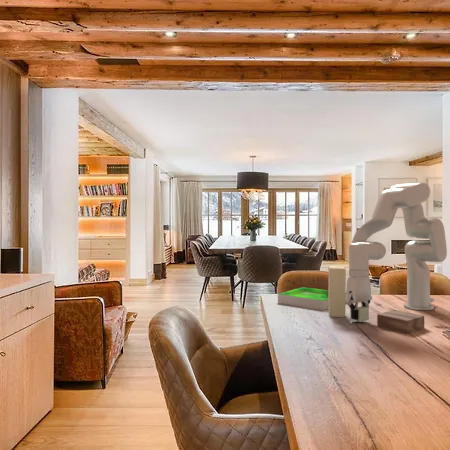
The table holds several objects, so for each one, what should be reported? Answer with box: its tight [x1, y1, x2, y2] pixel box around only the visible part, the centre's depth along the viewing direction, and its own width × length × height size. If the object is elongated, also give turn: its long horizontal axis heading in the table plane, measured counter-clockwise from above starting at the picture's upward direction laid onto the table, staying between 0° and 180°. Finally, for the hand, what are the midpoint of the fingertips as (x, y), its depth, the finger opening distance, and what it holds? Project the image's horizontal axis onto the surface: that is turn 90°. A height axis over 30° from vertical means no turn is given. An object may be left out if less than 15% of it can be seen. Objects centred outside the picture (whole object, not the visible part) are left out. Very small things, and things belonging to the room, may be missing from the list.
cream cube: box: [349, 304, 370, 323], centre depth 150 cm, size 5×5×5 cm
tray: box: [277, 286, 346, 311], centre depth 188 cm, size 25×25×5 cm
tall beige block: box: [327, 265, 347, 318], centre depth 161 cm, size 8×7×21 cm
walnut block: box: [376, 309, 425, 334], centre depth 142 cm, size 12×12×5 cm
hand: (359, 317), depth 150 cm, fingers closed on cream cube, 4 cm apart
